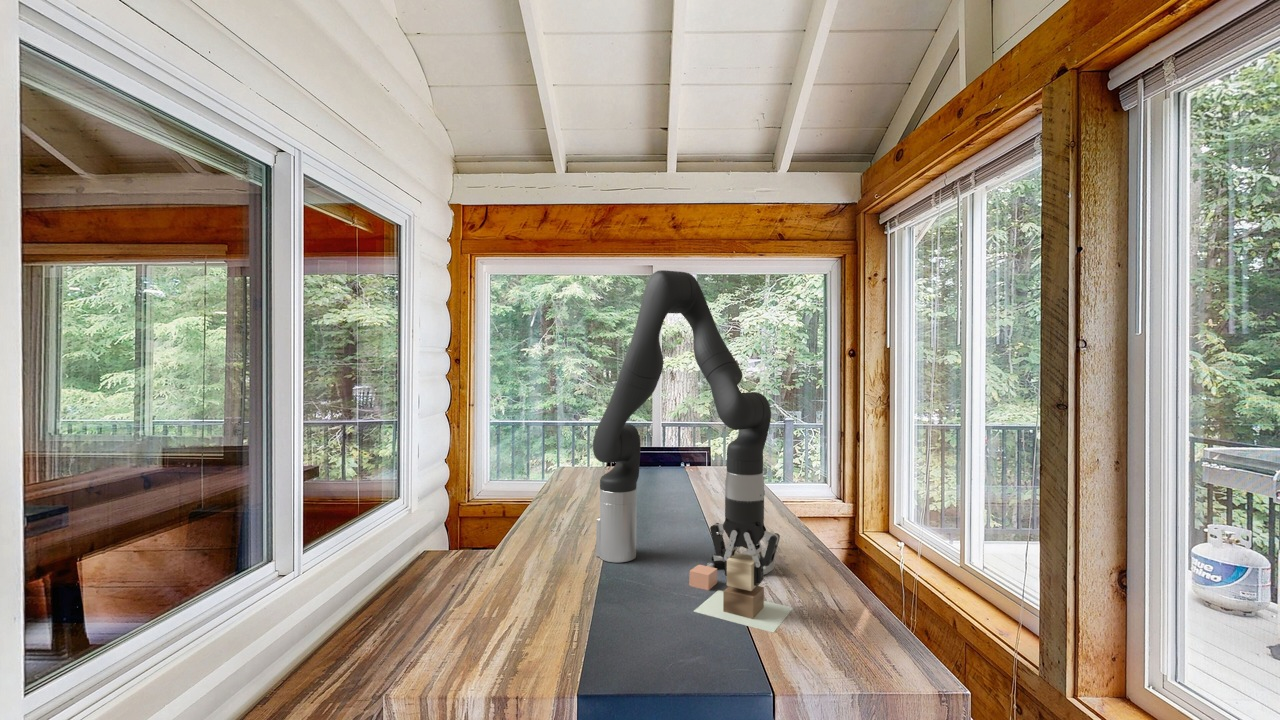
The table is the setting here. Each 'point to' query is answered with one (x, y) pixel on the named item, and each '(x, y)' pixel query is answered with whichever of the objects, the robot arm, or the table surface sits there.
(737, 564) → the maple block
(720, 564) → the robot toy
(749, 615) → the walnut block
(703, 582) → the terracotta block
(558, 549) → the table surface
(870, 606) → the table surface
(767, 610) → the board
